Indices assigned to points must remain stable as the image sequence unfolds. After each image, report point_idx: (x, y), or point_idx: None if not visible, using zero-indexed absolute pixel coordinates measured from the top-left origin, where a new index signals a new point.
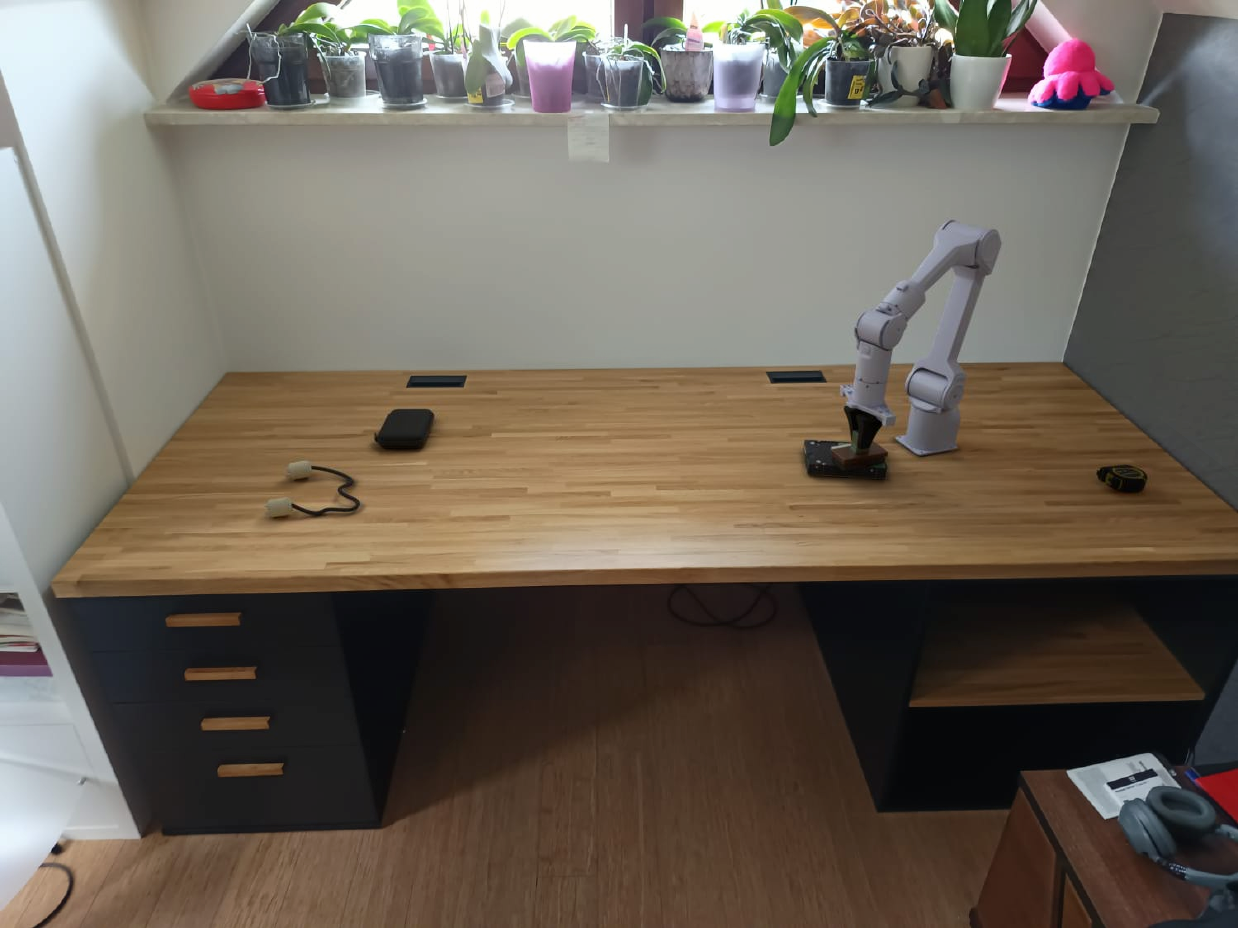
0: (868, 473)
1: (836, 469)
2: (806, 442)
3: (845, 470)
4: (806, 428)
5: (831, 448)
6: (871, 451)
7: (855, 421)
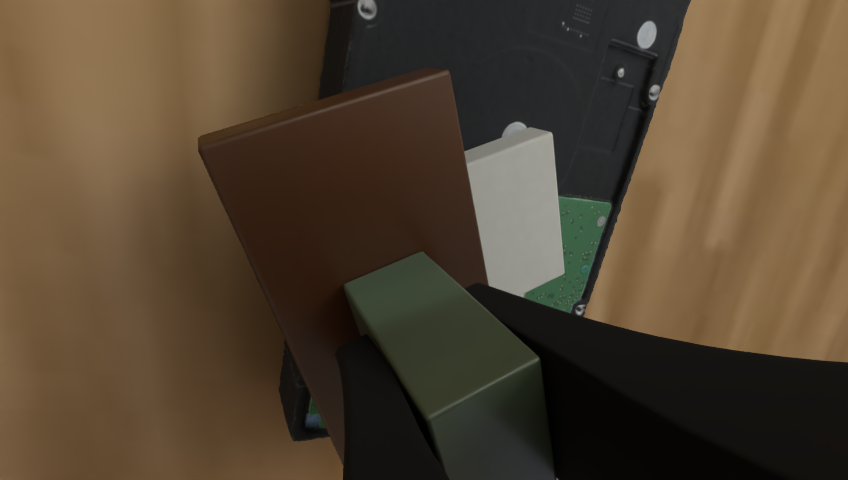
0: None
1: None
2: None
3: None
4: (772, 101)
5: (543, 131)
6: None
7: (655, 462)
